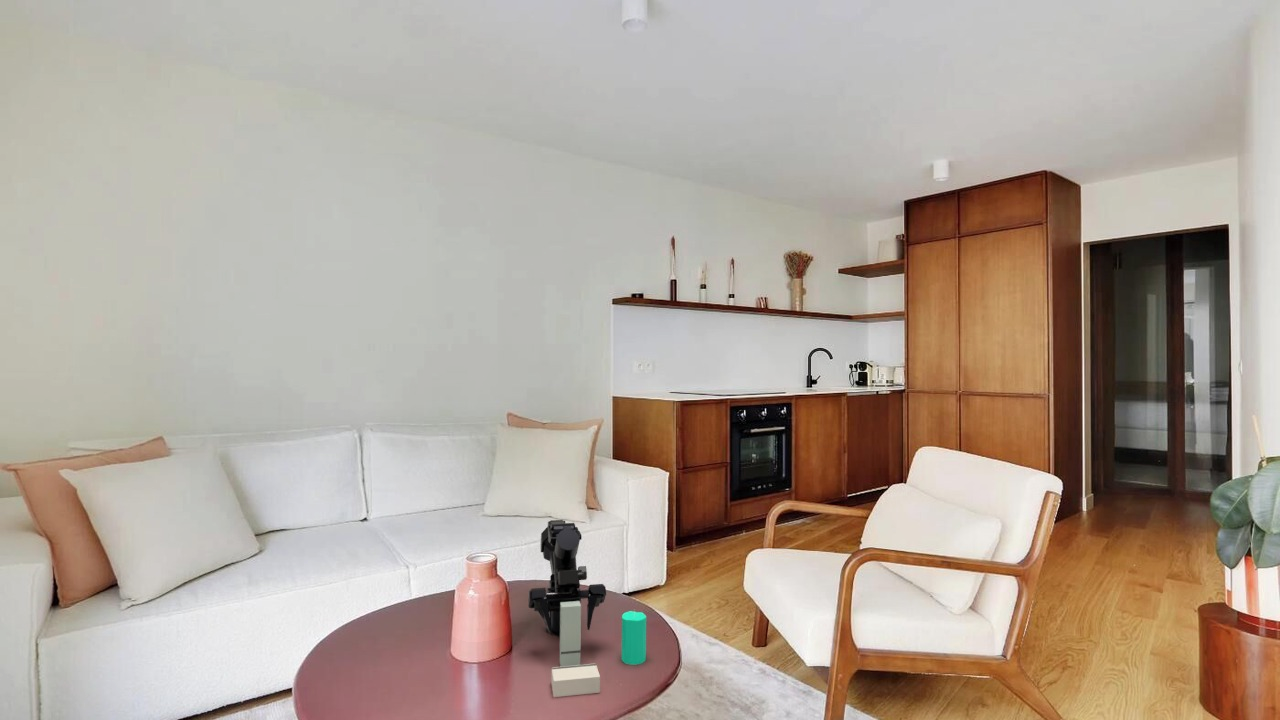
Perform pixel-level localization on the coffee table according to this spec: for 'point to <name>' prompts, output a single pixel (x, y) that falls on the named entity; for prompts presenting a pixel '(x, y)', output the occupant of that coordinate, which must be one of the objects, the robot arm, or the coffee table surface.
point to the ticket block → (575, 680)
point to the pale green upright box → (570, 633)
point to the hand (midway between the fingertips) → (569, 630)
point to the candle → (633, 637)
